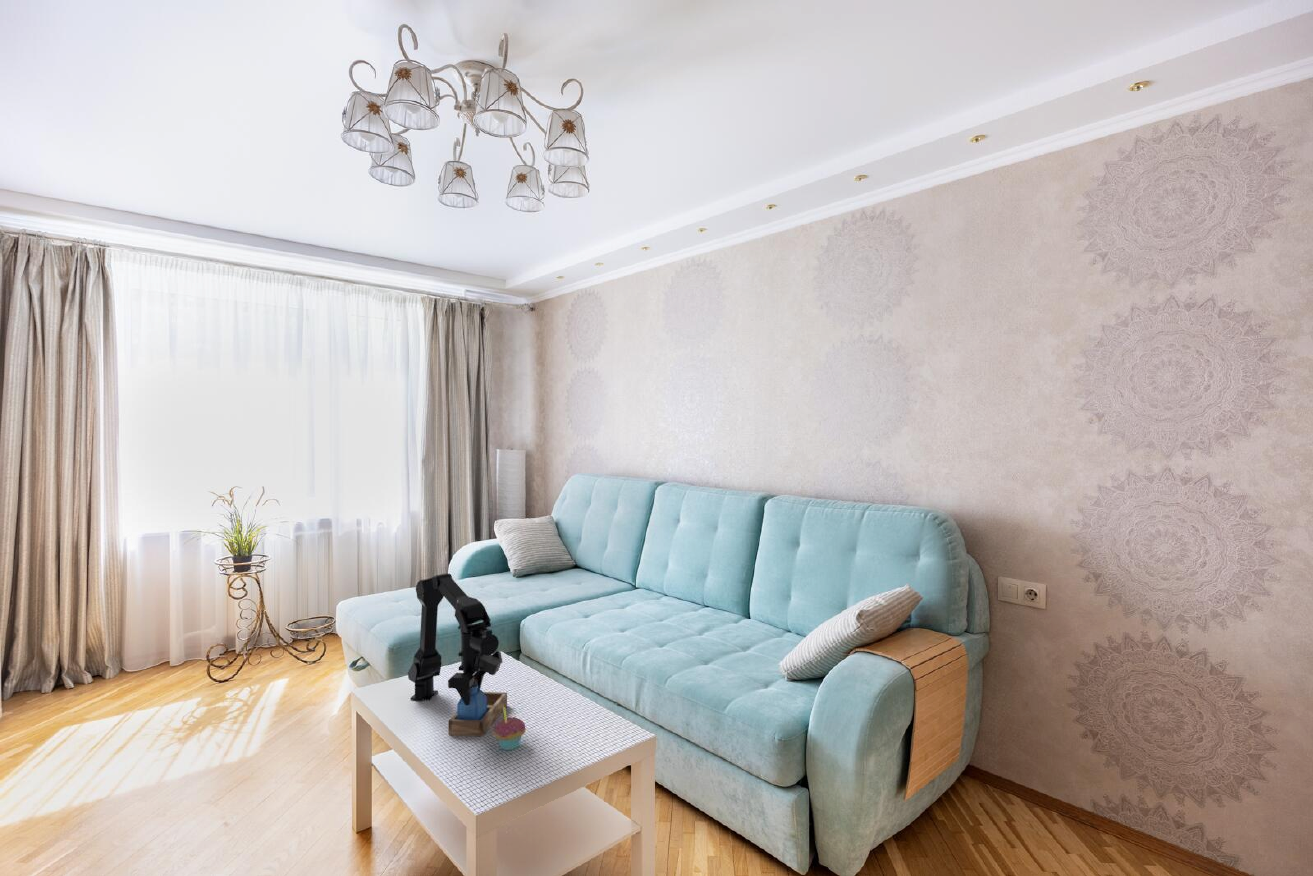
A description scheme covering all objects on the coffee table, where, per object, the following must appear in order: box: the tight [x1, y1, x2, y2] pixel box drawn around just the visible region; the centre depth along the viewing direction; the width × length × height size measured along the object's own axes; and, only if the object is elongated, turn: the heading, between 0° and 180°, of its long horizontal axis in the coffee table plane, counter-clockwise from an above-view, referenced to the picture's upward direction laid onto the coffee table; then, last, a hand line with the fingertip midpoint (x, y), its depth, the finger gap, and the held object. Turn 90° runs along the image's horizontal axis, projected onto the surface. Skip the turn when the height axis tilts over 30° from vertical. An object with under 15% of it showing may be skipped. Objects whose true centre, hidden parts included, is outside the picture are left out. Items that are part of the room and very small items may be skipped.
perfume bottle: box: [456, 679, 487, 720], centre depth 177 cm, size 6×6×12 cm
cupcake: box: [493, 705, 527, 751], centre depth 167 cm, size 9×8×12 cm
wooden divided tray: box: [447, 691, 508, 737], centre depth 182 cm, size 20×10×4 cm, turn 173°
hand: (472, 700), depth 177 cm, fingers open, 6 cm apart
